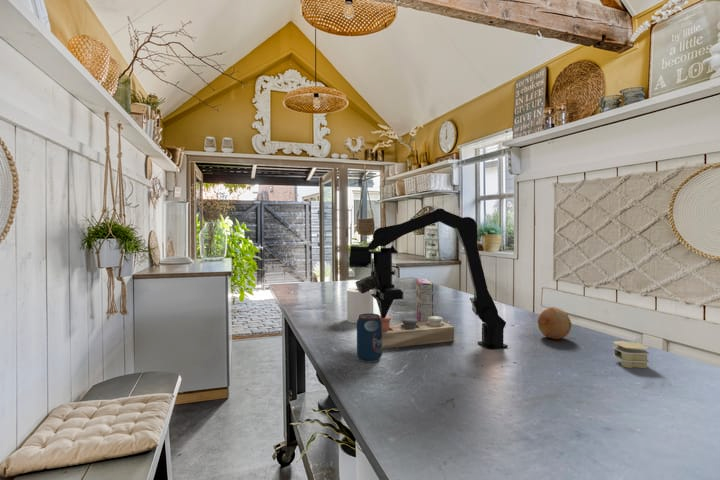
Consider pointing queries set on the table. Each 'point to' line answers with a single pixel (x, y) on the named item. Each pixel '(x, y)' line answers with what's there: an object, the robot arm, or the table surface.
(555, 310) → the onion
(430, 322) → the white plug
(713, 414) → the table surface
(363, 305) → the toilet paper
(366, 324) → the soda can
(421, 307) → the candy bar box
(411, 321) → the grey rounded piece
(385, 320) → the salmon plug
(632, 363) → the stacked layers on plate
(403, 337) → the socket block
